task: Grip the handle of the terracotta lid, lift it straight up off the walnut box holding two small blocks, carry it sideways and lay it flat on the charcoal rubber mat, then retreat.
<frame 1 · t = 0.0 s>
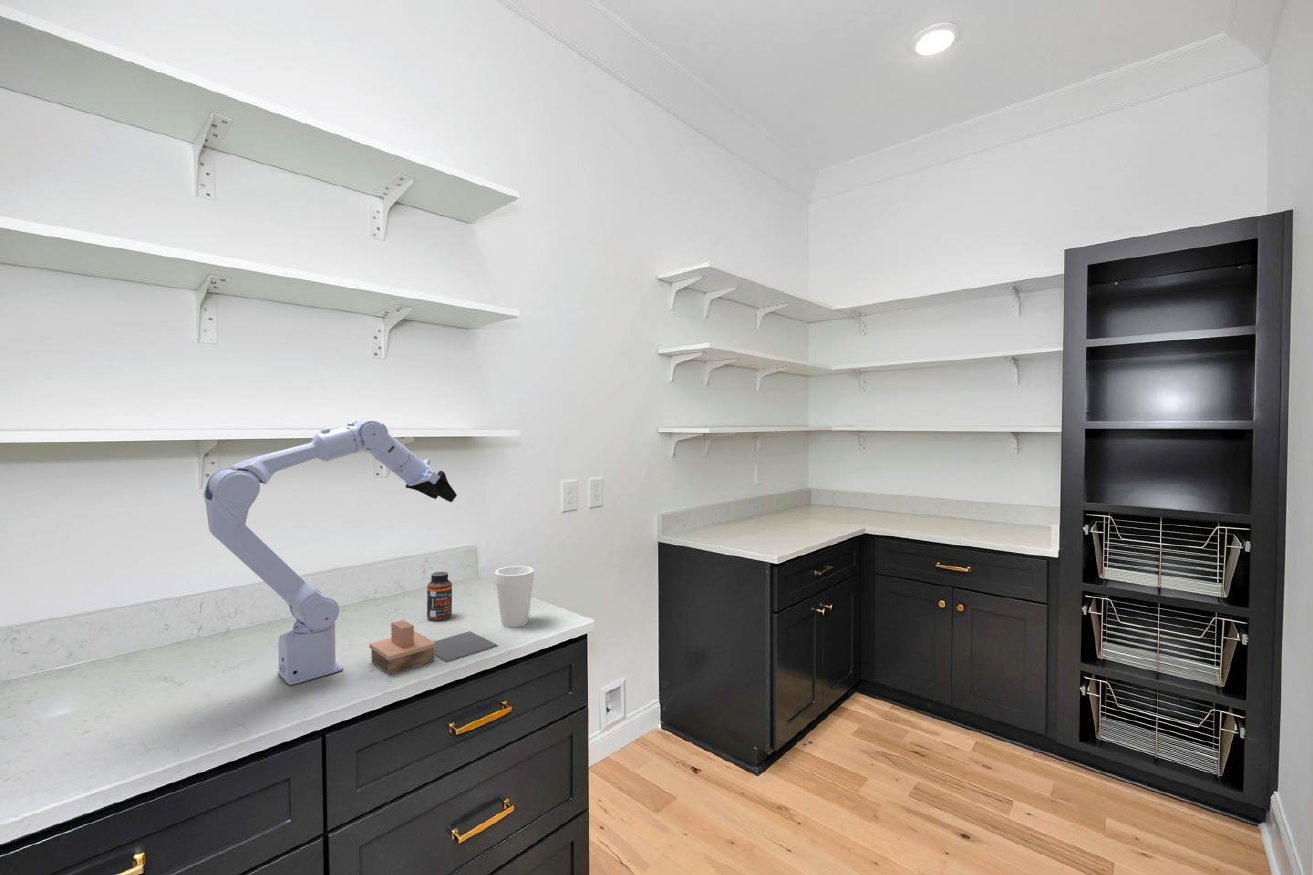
hand: (445, 497, 134), 32 cm above the worktop, tool tilted 50°, fingers open, 7 cm apart
box: (402, 661, 120), on the worktop
supplement bottle: (439, 618, 147), on the worktop
lid: (402, 647, 120), point 3 cm above the worktop, touching box
foam cup: (514, 623, 143), on the worktop
mat: (458, 646, 128), on the worktop
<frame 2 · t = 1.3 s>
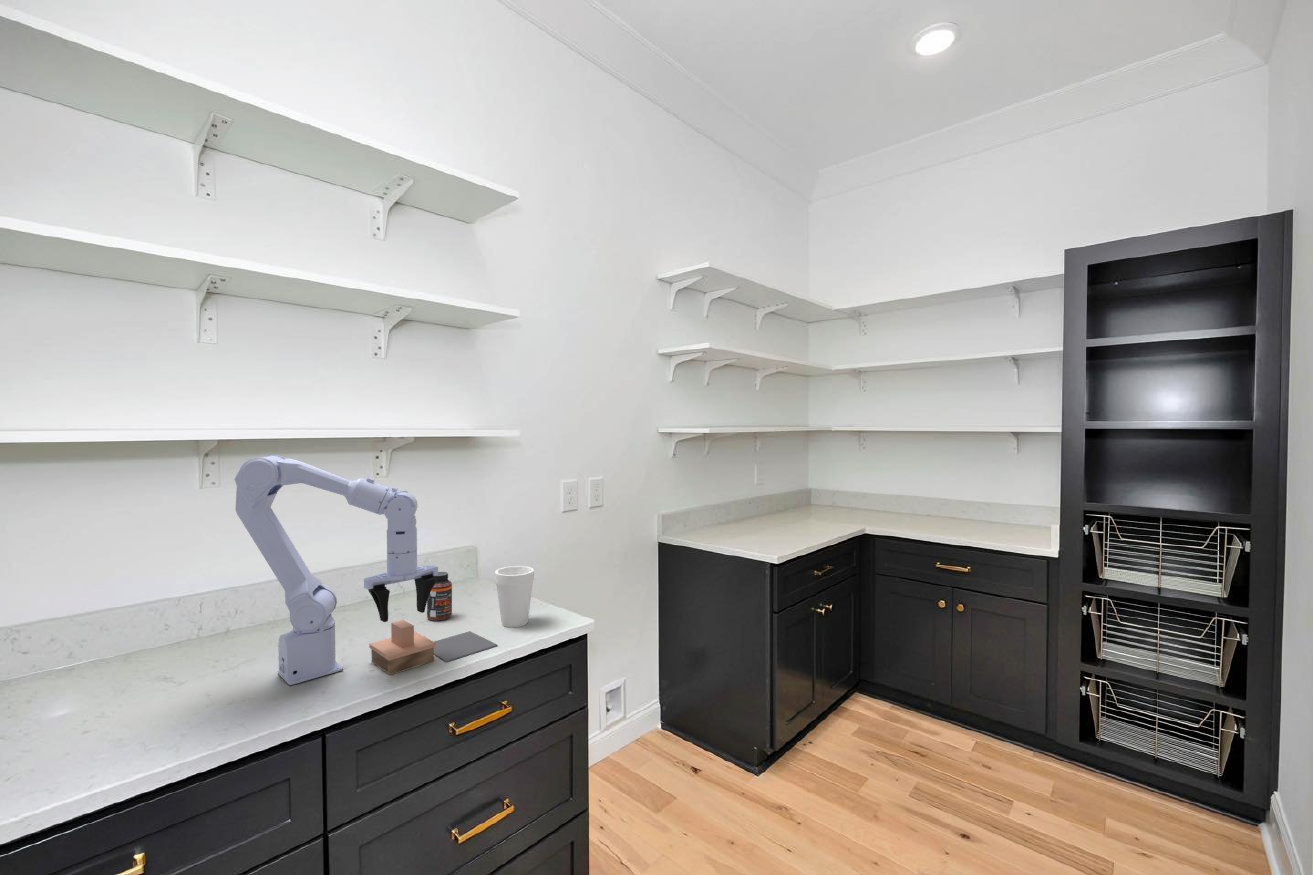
hand: (402, 616, 120), 9 cm above the worktop, tool pointing down, fingers open, 7 cm apart
nothing on the worktop moved.
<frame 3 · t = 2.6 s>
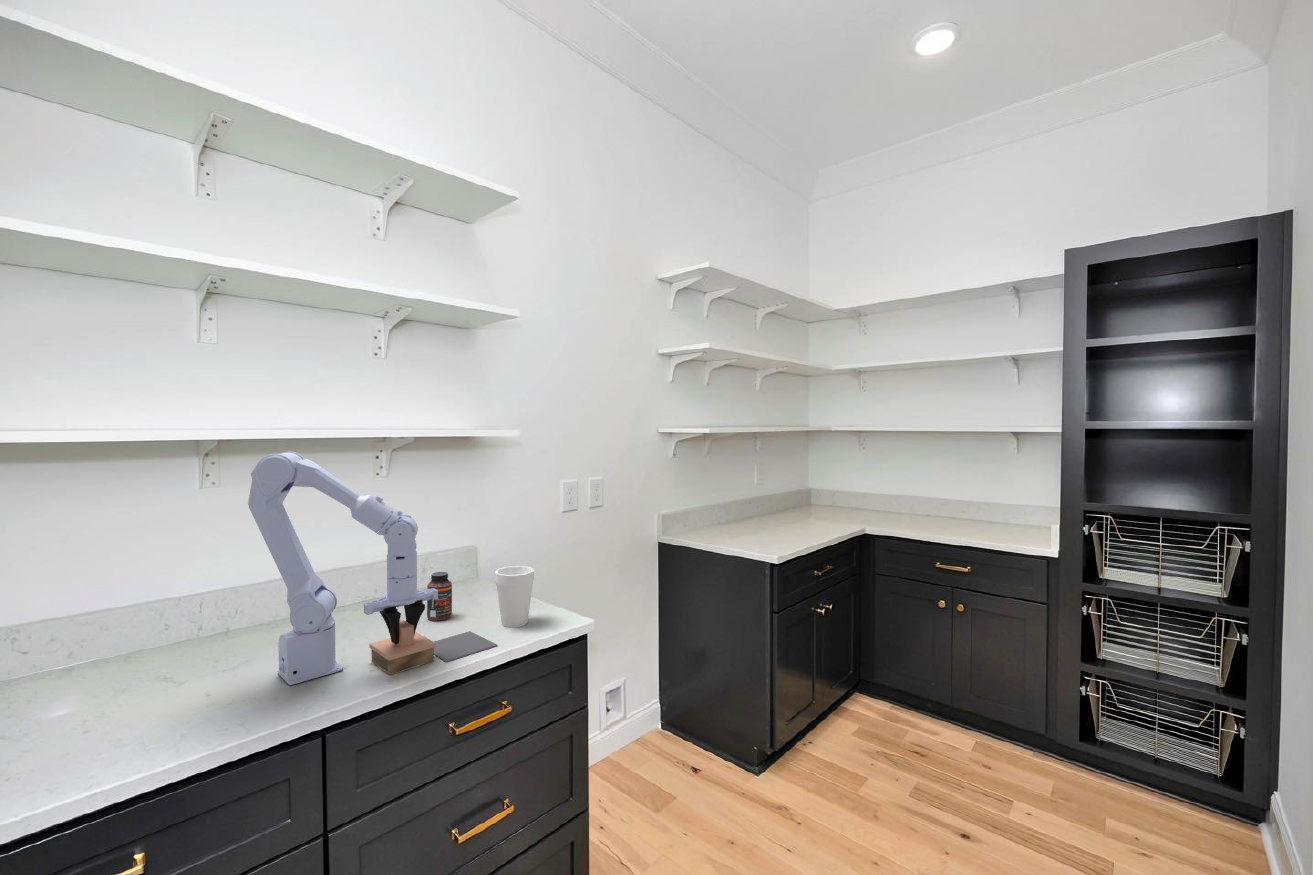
hand: (402, 640, 120), 4 cm above the worktop, tool pointing down, fingers closed on lid, 2 cm apart
lid: (402, 647, 120), point 3 cm above the worktop, touching box, gripper
everything else where it was.
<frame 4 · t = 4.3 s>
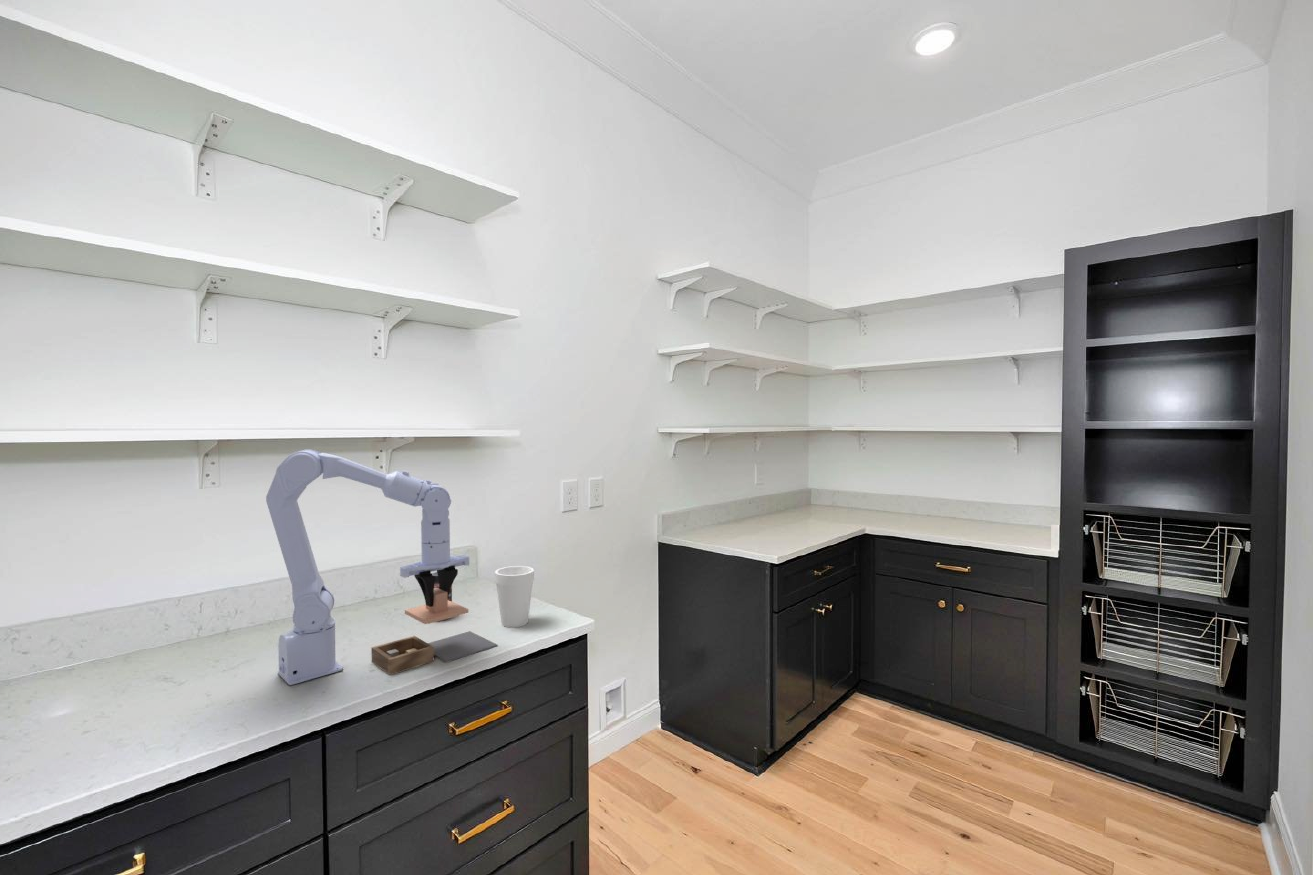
hand: (436, 603, 124), 11 cm above the worktop, tool pointing down, fingers closed on lid, 2 cm apart
lid: (436, 613, 124), point 9 cm above the worktop, touching gripper
everything else where it was.
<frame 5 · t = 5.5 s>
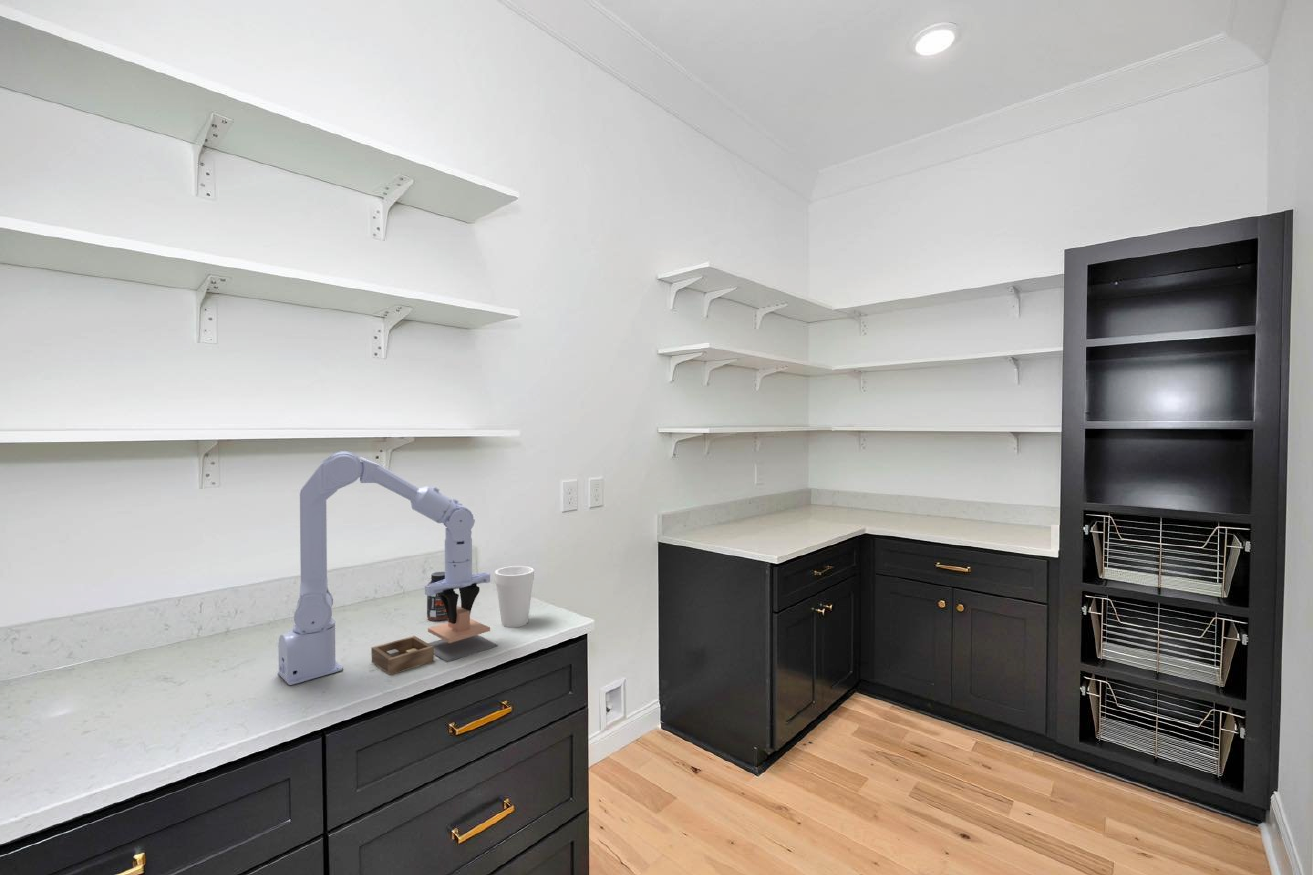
hand: (458, 620, 128), 6 cm above the worktop, tool pointing down, fingers closed on lid, 2 cm apart
lid: (459, 631, 128), point 3 cm above the worktop, touching gripper
everything else where it was.
when the fingers open (4 cm above the worktop, at t = 6.2 s): lid stays where it is, resting on mat.
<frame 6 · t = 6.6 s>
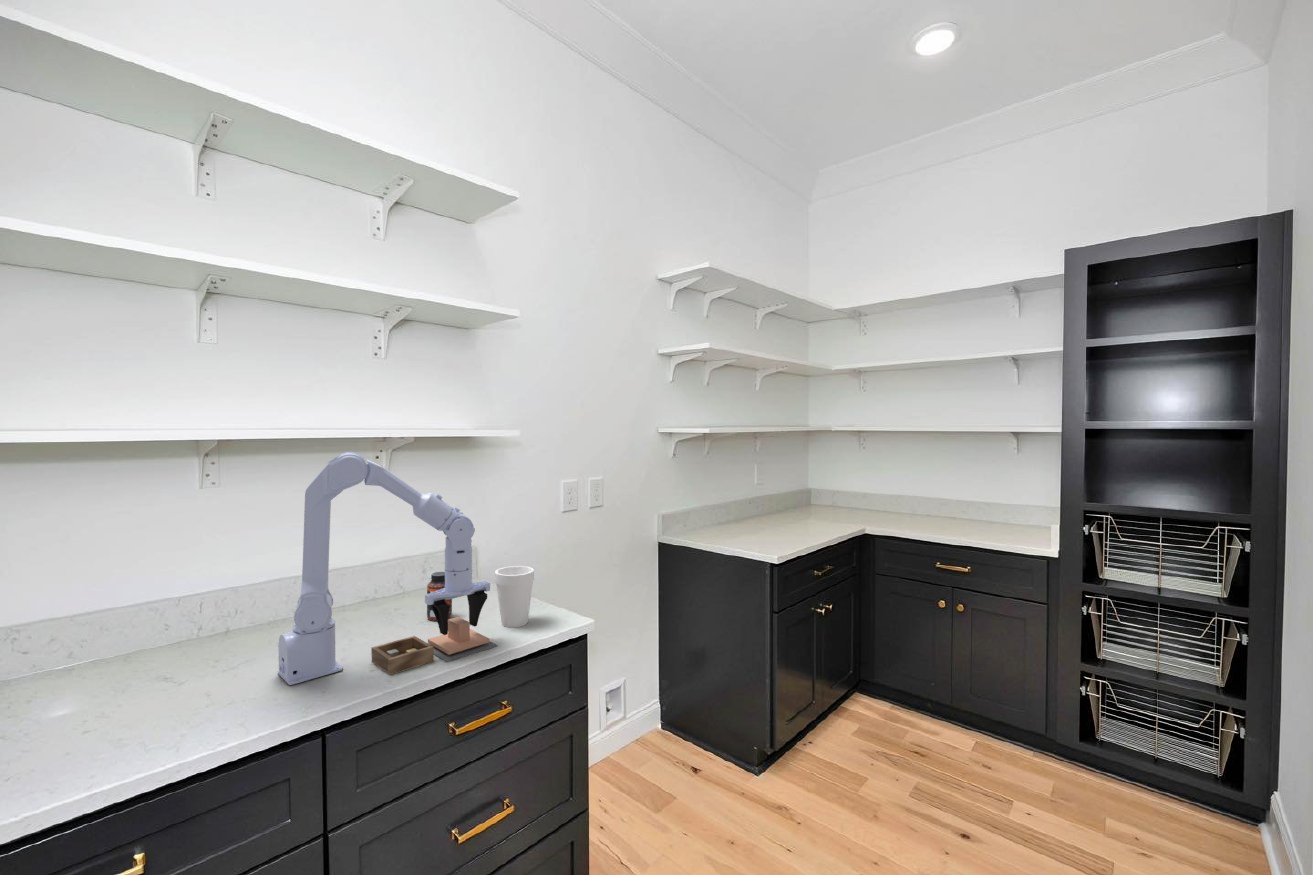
hand: (458, 629, 128), 4 cm above the worktop, tool pointing down, fingers open, 6 cm apart
lid: (458, 642, 128), point 1 cm above the worktop, touching mat
everything else where it was.
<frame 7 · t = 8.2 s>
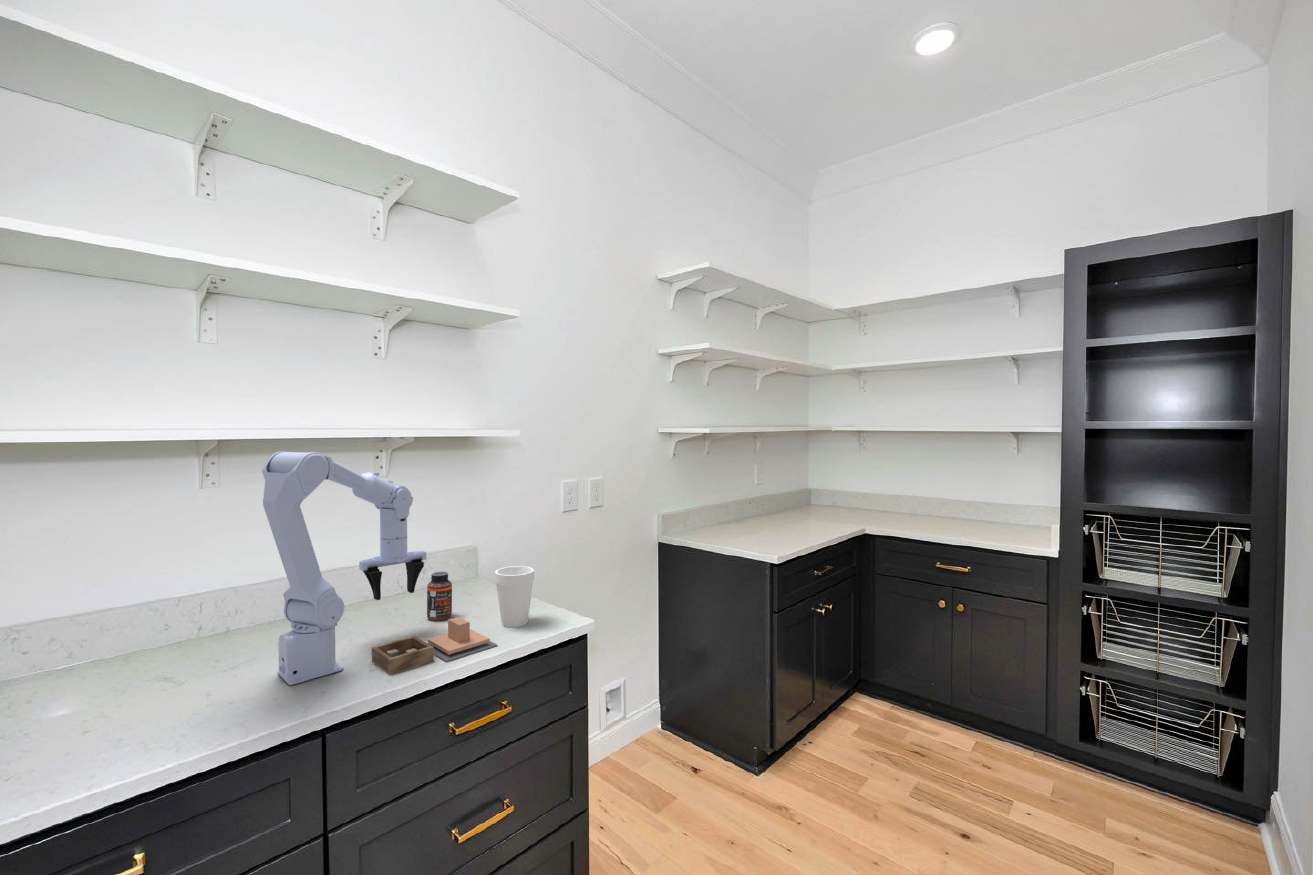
hand: (394, 595, 134), 9 cm above the worktop, tool pointing down, fingers open, 7 cm apart
nothing on the worktop moved.
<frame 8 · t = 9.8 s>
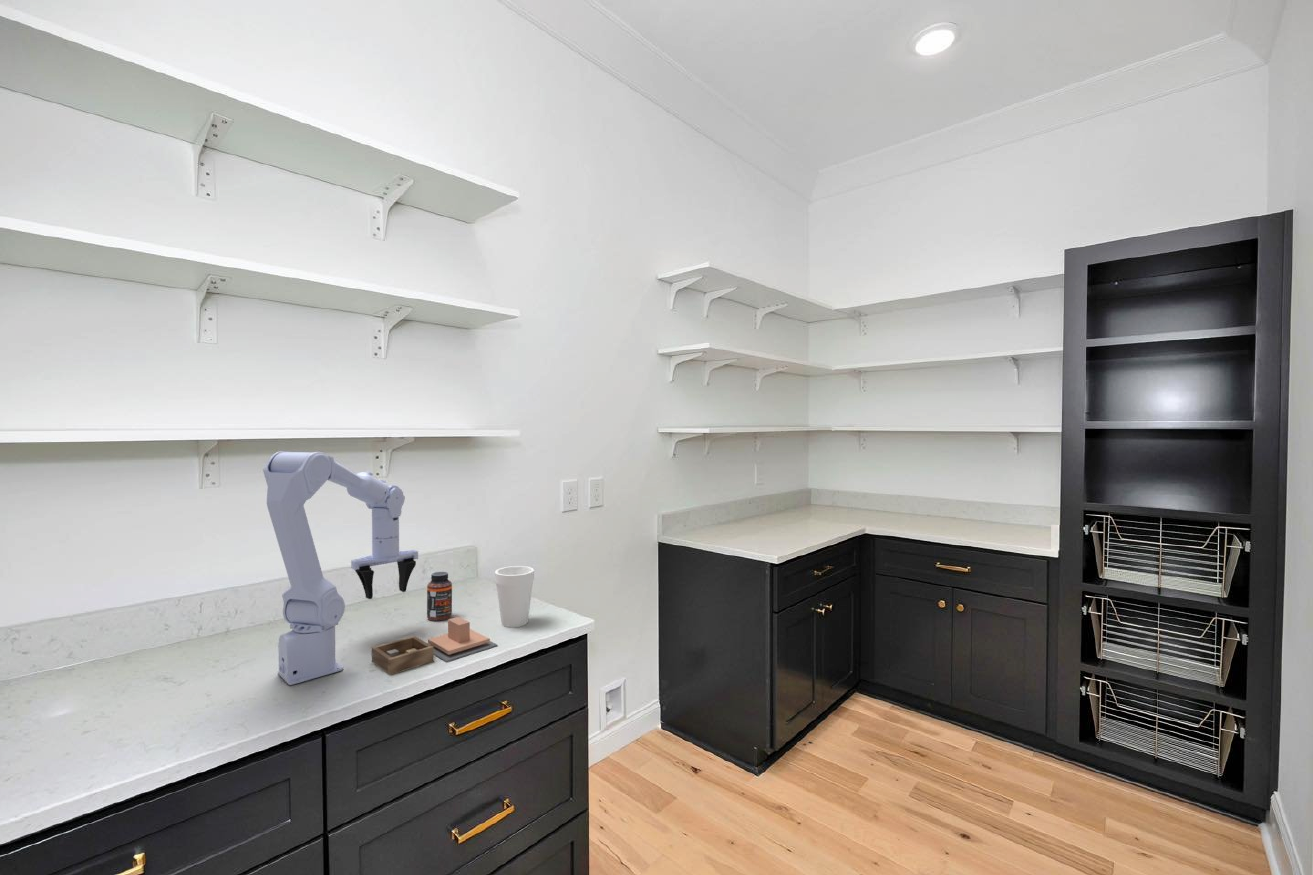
hand: (386, 594, 135), 9 cm above the worktop, tool pointing down, fingers open, 7 cm apart
nothing on the worktop moved.
at the end: lid 0.0 cm off-centre on the mat, point 0.9 cm above the mat's base; lid tilted 0°; the gripper is holding nothing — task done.
